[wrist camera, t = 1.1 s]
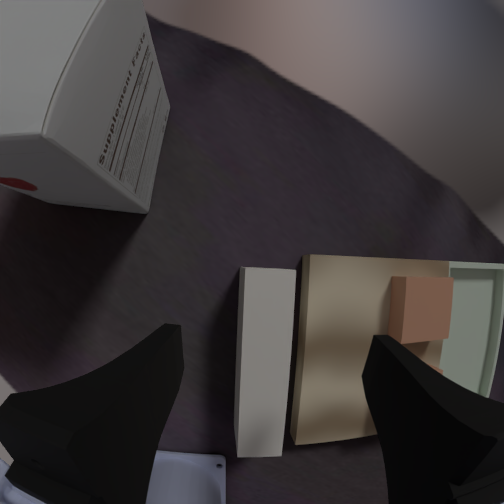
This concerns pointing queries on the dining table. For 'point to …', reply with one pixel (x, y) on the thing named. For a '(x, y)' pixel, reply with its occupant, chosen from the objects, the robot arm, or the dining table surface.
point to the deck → (345, 340)
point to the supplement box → (80, 103)
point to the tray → (474, 325)
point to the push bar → (263, 359)
